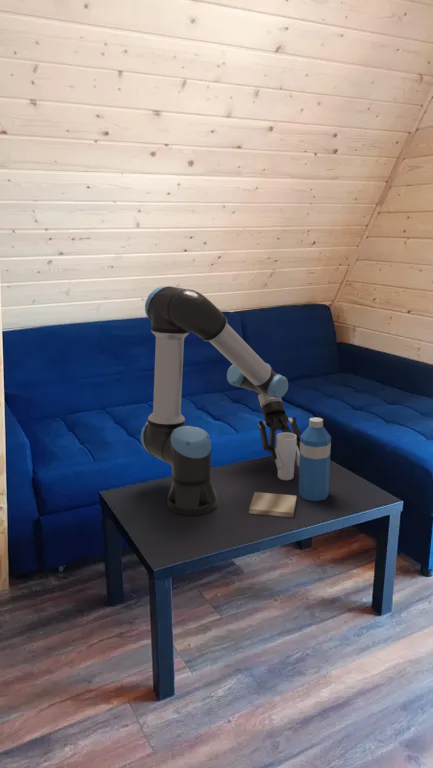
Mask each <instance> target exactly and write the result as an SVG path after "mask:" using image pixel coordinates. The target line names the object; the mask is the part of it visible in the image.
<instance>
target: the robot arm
mask: <svg viewBox="0 0 433 768" xmlns="http://www.w3.org/2000/svg"><path fill="white" fill-rule="evenodd" d="M144 312H145V314H146V317H147V318H148V320H149V321H150V322H151V324H150V325H151V329H150V332H151V333H152V334H153V335H154V336H155V352H154V353H155V356H154V378H153V379H154V381H153V382H154V383H153V405H152V413H150V415H148V418H147V421H146V422H145V425H143V426H142V429H141V432H140V443H141V446H142V447H143V448H144V450H145V451H146V452H147V453H148V454H150V455H151V456H153V457H154V458H155V459H158V460H161V461H162V462H164V463H166V464H168V465H170V466H171V470H172V471H171V473H172V475H171V476H172V482H171V486H170V488H169V491H168V492H169V493H168V495H167V507H168V509H169V510H170V511H172V512H173V513H175V514H178V515H183V516H200V515H204V514H207V513H210V512H211V511H213V510H214V509H215V508H216V507H217V506H218V505H217V504H218V497H217V496H218V495H217V492H216V490H215V487H214V484H213V481H212V453H211V452H212V445H211V437H210V435H209V433H208V432H207V431H206V430H204V429H203V428H200V427H197V426H192V425H186V418H185V416H184V415H182V411H181V410H182V392H183V391H182V389H183V372H184V371H183V367H184V350H185V349H184V348H185V347H184V346H185V338H186V337H187V336H188V335H189V334H190V332H191V333H192V334H195V335H196V336H197V337H199V338H200V339H201V340H202V341H204V342H209V343H210V344H211V345H212V347H215V349H216V350H217V351H219V353H220V354H221V355H223V356H224V358H226V359H227V360H228V361H229V362H230V363H231V364H232V365H230V367H229V368H228V369H227V373H226V378H227V379H226V380H227V382H228V384H229V385H231V386H235V387H237V388H243V389H246V390H250V391H252V392H255V393H256V394H257V398H258V401H259V403H260V404H259V405H260V407H261V412H262V415H263V418H264V419H263V420H260V421H259V422H258V423H257V425H256V426H257V427H258V430H259V433H260V437H261V443H262V449H263V450H264V451H265V452H266V451H268V452H269V453H270V456H271V460H272V461H275V466H276V468H277V471H278V470H280V469H281V468H282V464H281V460H280V457H279V453H278V450H277V448H276V431H277V432H278V431H282V433H283V432H288V433H293V434H295V435H296V436H297V447H296V457H295V462H296V465H297V467H298V468H299V459H300V436H301V435H302V433H301V430H300V428H299V426H298V423H297V417H296V416H293V417H289V416H288V415H287V414H286V410H285V409H286V408H285V407H284V403H283V402H282V401H283V400H282V398H283V397H284V396H285V395H286V393H287V392H288V389H289V381H288V378H287V377H285V376H283V375H281V374H280V373H276V372H275V371H274V370H273V368H272V366H271V364H269V363H267V362H265V361H264V359H262V358H261V357H260V356H259V354H257V353H256V352H255V351H254V349H252V347H251V346H250V345H249V344H248V343H247V342H246V341H245V340H244V339H243V338H242V337H241V336H240V335H239V334H238V333H237V332H236V330H234V329H233V328H232V326H230V324H228V318H227V317H226V315H224V314H223V312H222V311H221V310H220V309H219V308H218V307H217V306H216V305H215V304H214V303H213V302H212V301H211V300H210V299H208V297H206V296H205V295H204V294H202V293H200V292H198V291H197V290H194V289H187V288H182V287H177V286H171V285H169V286H159V287H156V288H155V289H153V290H152V291H151V292H150V293H149V295H148V296H147V298H146V301H145V303H144ZM288 424H289V425H290V426H289V425H288ZM266 426H267V427H268V428H269V440H268V434H267V428H266ZM290 428H291V429H290Z"/></svg>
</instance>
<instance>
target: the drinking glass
mask: <svg viewBox="0 0 433 768" xmlns="http://www.w3.org/2000/svg"><path fill="white" fill-rule="evenodd" d="M296 447H297V436H296V435H295V434H294V433H293V432H292V433H288V432H283V431H282V432H280V433H279V432H278V433H277V434H275V449H276V448H277V450H278V453H279V457H280V460H281V464H282V468H281V469H280V470H278V469H277V478H278V479H279V480H282V481H290V480H292V479H294V476H295V475H294V473H295V463H296V458H295V457H296Z"/></svg>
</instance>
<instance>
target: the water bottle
mask: <svg viewBox="0 0 433 768" xmlns="http://www.w3.org/2000/svg"><path fill="white" fill-rule="evenodd" d="M331 446H332V436H331V435H330V433H329V432H328V431H327V429H326V428H325V426H324V419H323V418H322V417H310V418H309V419H308V426H307V427H306V428H305V430H303V432H302V433H301V436H300V459H299V467H298V469H299V470H298V471H299V472H298V495H299V496H300V497H301V498H302V499H303V500H307V501H311V502H319V501H325V500H326V499H327V498H328V496H329V493H330V492H329V491H330V472H331V471H330V469H331Z"/></svg>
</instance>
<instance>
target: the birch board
mask: <svg viewBox="0 0 433 768" xmlns="http://www.w3.org/2000/svg"><path fill="white" fill-rule="evenodd" d="M297 497H298V496H297V495H295V494H294V495H291V494H283V493H282V494H281V493H271V492H270V493H269V492H261V491H260V492H259V491H258V492H257V491H254V494H253V497H252V500H251V503H250V505H249V509H248V513H249V514H252V515H253V514H254V515H264V516H272V517H273V516H275V517H284V518H294V517H295V515H294V514H295V511H296V510H295V509H296V504H297V500H298V499H297Z"/></svg>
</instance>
